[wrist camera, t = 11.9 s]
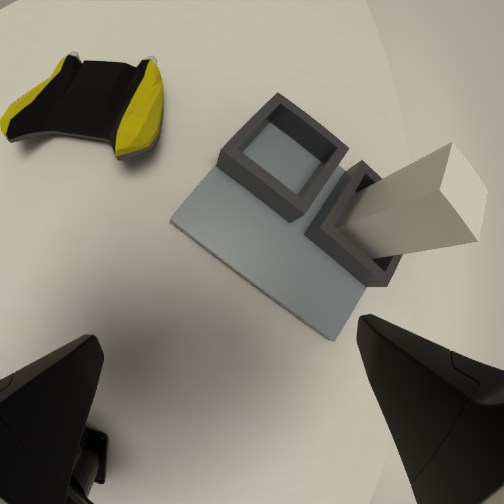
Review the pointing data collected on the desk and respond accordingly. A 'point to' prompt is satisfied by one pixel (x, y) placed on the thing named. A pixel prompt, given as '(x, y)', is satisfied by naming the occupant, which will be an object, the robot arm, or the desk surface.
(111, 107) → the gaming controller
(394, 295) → the desk surface
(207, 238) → the board
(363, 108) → the desk surface
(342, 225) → the plug
